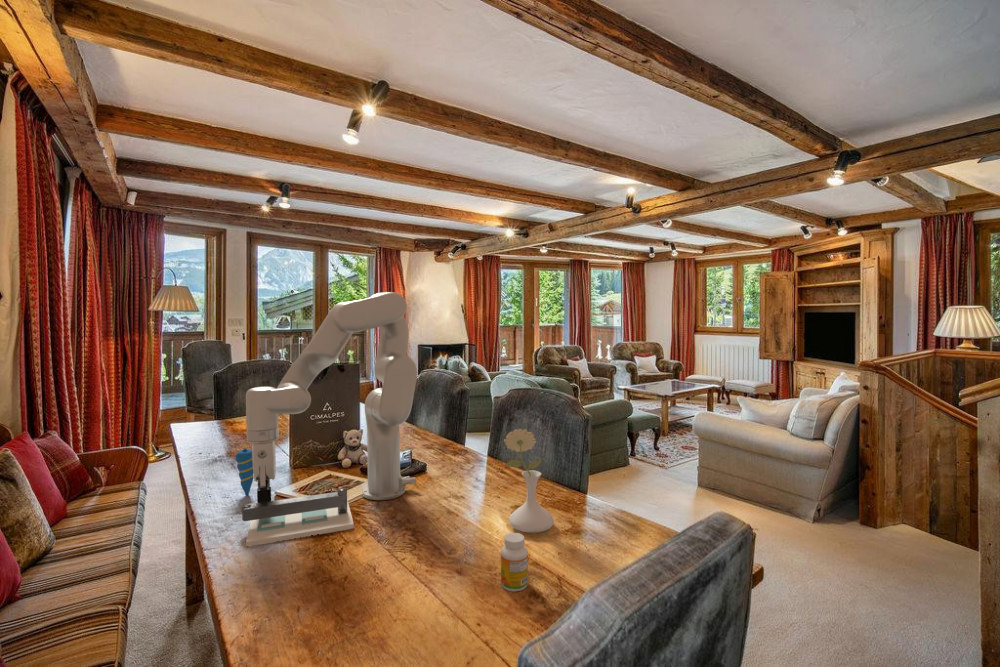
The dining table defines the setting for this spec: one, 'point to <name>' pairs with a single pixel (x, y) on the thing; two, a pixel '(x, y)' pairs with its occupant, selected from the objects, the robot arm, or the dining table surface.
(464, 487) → the dining table surface
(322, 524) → the label board
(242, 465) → the ornament
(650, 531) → the dining table surface
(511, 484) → the dining table surface
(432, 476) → the dining table surface
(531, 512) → the flower in vase
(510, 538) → the supplement bottle
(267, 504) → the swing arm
